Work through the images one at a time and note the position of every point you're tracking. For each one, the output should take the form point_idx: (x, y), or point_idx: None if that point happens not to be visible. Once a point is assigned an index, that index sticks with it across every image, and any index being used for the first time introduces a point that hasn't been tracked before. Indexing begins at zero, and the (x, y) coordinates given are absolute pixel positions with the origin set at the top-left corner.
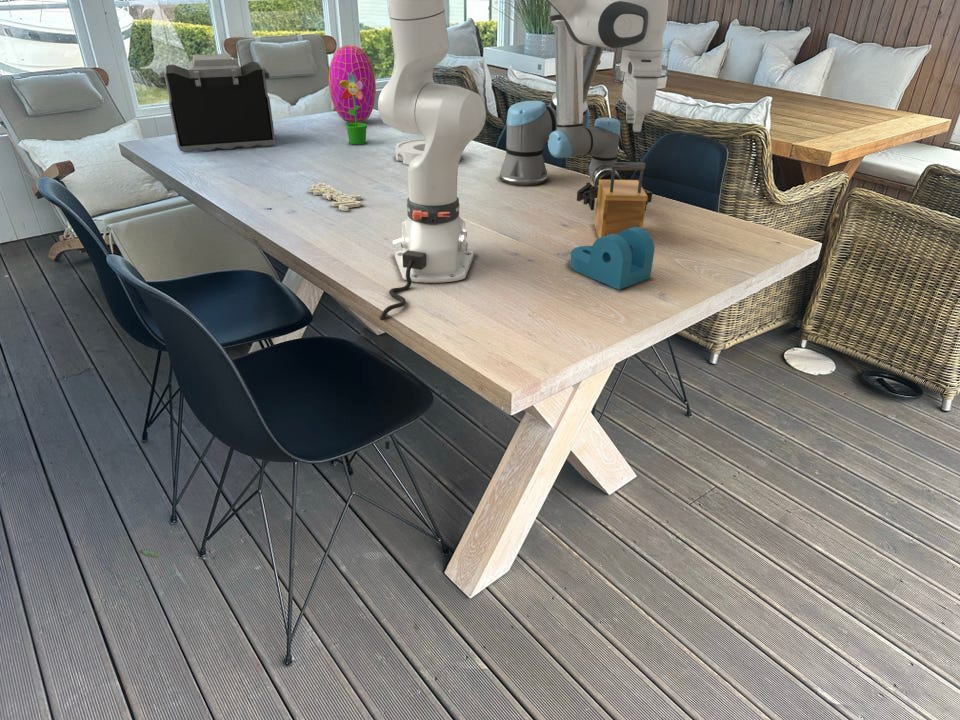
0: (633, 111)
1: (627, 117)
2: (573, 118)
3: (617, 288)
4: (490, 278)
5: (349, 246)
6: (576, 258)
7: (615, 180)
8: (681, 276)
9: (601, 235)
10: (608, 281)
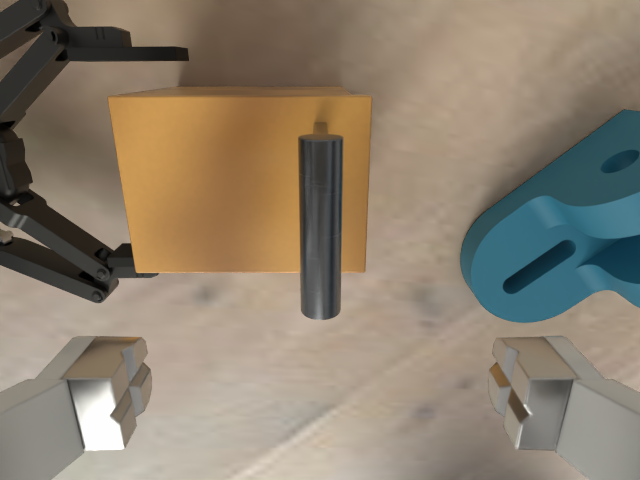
0: (27, 415)
1: (132, 430)
2: None
3: None
4: (556, 455)
5: None
6: (561, 312)
7: (139, 206)
8: (622, 3)
9: None
10: None
